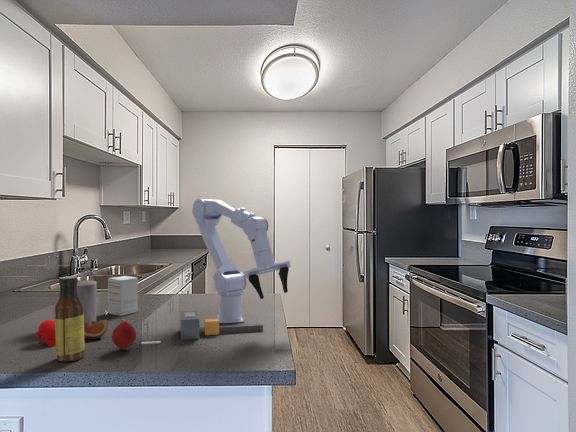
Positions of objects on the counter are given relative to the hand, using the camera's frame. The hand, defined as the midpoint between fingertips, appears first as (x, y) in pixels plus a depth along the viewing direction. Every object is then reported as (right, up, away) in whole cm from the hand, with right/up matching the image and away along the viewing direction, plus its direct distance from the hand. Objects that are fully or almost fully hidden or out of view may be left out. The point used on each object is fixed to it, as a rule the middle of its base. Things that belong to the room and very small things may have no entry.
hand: (274, 295), depth 129 cm
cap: (-61, -11, -13) cm, 63 cm away
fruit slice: (-52, -11, -9) cm, 53 cm away
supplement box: (-55, -11, +22) cm, 60 cm away
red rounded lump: (-39, -11, -19) cm, 44 cm away
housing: (-25, -11, -4) cm, 27 cm away
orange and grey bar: (-12, -11, 0) cm, 16 cm away
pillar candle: (-61, -11, +4) cm, 62 cm away
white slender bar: (-33, -11, -13) cm, 37 cm away
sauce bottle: (-49, -11, -26) cm, 56 cm away
